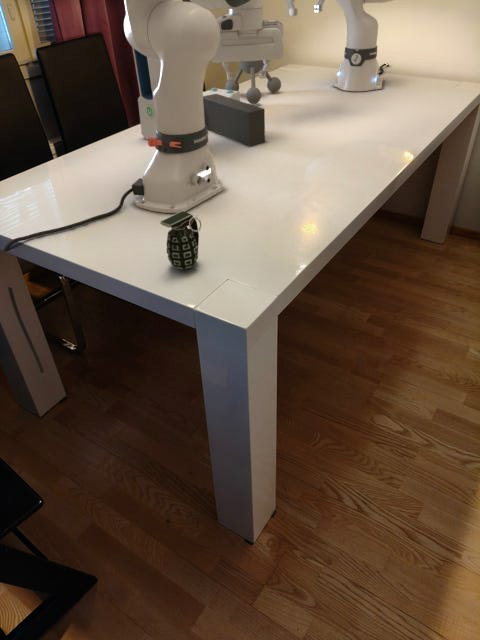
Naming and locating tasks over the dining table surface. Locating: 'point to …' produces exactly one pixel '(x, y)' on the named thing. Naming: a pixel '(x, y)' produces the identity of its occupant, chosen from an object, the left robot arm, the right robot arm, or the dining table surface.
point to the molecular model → (253, 80)
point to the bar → (234, 119)
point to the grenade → (182, 240)
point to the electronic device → (147, 91)
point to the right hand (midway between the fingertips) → (306, 14)
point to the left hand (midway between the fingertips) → (246, 78)
